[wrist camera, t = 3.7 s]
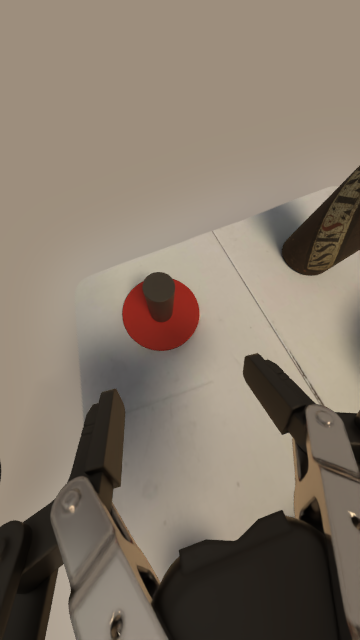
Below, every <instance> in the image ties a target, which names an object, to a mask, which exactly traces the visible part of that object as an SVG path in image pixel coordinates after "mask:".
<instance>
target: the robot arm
mask: <svg viewBox="0 0 360 640" xmlns="http://www.w3.org/2000/svg"><path fill="white" fill-rule="evenodd" d="M243 376H244V379H245V381H246V383H247V384H248V386H249V387H250V389H251V390H252V391H253V393H254V394H255V396H256V397H257V399H258V400H259V402H260V403H261V405H262V406H263V408H264V409H265V411H266V412H267V413H268V415H269V416H270V418H271V419H272V421H273V422H274V424H275V425H276V427H277V428H278V430H279V431H280V432H281V434H282V435H283V434H286V433H290V434H291V436H292V437H293V439H292V444H293V457H294V469H295V491H294V513H295V518H293V517H289V516H285V514H284V512H283V510H281V511H278V512H275V513H273V514H270V515H268V516H265V517H263V518H260V519H258V520H257V521H256V522H255V523H254V524H253V525H252V526H251V527H250V528H249V529H248V530H247V531H246V532H245V533H244V534H243V535H242V536H241V537H240V538H239V539H238V540H236V541H223V540H204V541H201V542H198V543H196V544H193V545H191V546H188V547H186V548H183V549H180V550H179V555H180V556H179V557H178V558H177V559H176V560H175V561H174V562H173V564H172V565H171V566H170V567H169V569H168V571H167V572H166V574H165V575H164V577H163V579H162V581H161V582H160V581H159V579H158V577H157V575H156V574H155V572H154V570H153V569H152V567H151V565H150V563H149V562H148V560H147V558H146V557H145V555H144V554H143V552H142V551H141V549H140V548H139V547H138V545H137V544H136V542H135V541H134V539H133V537H132V536H131V534H130V532H129V530H128V529H127V527H126V525H125V523H124V522H123V520H122V518H121V516H120V515H119V513H118V511H117V509H116V508H115V506H114V504H113V502H112V496H113V489H114V488H117V487H120V486H121V473H122V457H123V442H124V426H125V407H124V403H123V401H122V399H121V397H120V395H119V393H118V391H117V389H112V390H108V391H104V392H102V393H101V395H100V399H99V403H97V404H93V405H92V407H91V408H90V410H89V412H88V413H87V415H86V419H85V422H84V428H83V430H82V434H81V438H80V442H79V445H78V449H77V453H76V456H75V460H74V464H73V468H72V471H71V475H70V478H69V480H68V482H67V484H66V485H65V486H64V487H63V488H62V489H61V491H60V492H59V494H58V495H57V497H56V498H55V499H54V500H53V501H52V502H51V503H50V504H48V505H47V506H46V507H44V508H43V509H41V510H40V511H38V512H37V513H36V514H34V515H33V516H31V517H30V518H28V519H27V520H26V521H24V522H23V523H22V522H20V521H10V522H8V523H6V524H4V525H3V526H1V527H0V640H45V636H46V630H47V625H48V620H49V615H50V610H51V605H52V599H53V594H54V589H55V584H56V578H57V574H58V568H59V567H60V566H62V565H63V564H64V566H65V569H66V572H67V576H68V579H69V582H70V587H71V594H70V597H69V603H68V604H69V614H70V619H71V623H72V626H73V630H74V633H75V637H76V640H360V411H359V412H358V413H357V414H356V413H339V412H334V411H332V410H331V409H329V408H327V407H325V406H322V405H318V404H316V403H315V402H313V401H312V400H311V399H310V398H309V397H308V396H307V395H306V394H305V393H304V392H303V391H302V389H301V388H300V387H299V386H298V385H297V384H296V383H295V382H294V381H293V380H292V379H290V378H289V376H288V375H287V374H286V373H284V371H283V370H282V369H281V368H280V367H279V366H278V365H277V364H275V363H273V362H272V361H270V360H264V359H263V358H262V357H261V355H259V354H258V353H256V354H252V355H248V356H245V359H244V368H243ZM118 632H119V633H120V636H119V634H118Z"/></svg>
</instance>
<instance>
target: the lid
mask: <svg viewBox="0 0 360 640" xmlns="http://www.w3.org/2000/svg"><path fill="white" fill-rule="evenodd" d="M122 316H123V322H124V326H125V328H126V330H127V332H128V334H129V335H130V336H131V338H132V339H133V340H134V341H136V342H137V343H138V344H140V345H141V346H143V347H145V348H148V349H151V350H157V351H165V350H171V349H174V348H176V347H179V346H180V345H182V344H184V343H185V342H186V341H187V340H188V339H189V338H190V337H191V336H192V334H193V333H194V331H195V329H196V327H197V325H198V321H199V306H198V303H197V300H196V298H195V296H194V294H193V293H192V292H191V290H190V289H189V288H188V287H187V286H185V285H184V284H182V283H181V282H179V281H177V280H174V279H172V278H171V277H170V276H169V275H167V274H165V273H162V272H156V273H152V274H150V275H149V276H147V277H146V279H145V280H144V281H143V282H141V283H140V284H138V285H137V286H136V287H134V288H133V289H132V290H131V292H130V293H129V294H128V296H127V298H126V300H125V302H124V305H123V313H122Z"/></svg>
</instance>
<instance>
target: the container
mask: <svg viewBox="0 0 360 640" xmlns="http://www.w3.org/2000/svg"><path fill="white" fill-rule="evenodd" d="M358 250H360V166H359V167H358V168H357V169H356V170H355V171H354V172H353V173H352V174H351V175H350V176H349V177H348V178H347V179H346V180H345V181H344V182H343V183H342V184H341V185H340V186H339V187H338V188H337V189H336V190H335V191H334V192H333V194H332V195H331V196H330V197H329V198H328V199H327V200H326V201H325V202H324V203H323V204H322V205H321V206H320V207H319V208H318V209H317V210H316V211H315V212H314V213H313V214H312V215H311V216H310V217H309V218H308V219H307V220H306V221H305V222H304V223H303V224H302V225H301V226H300V227H299V228H298V229H297V230H296V231H295V232H294V233H293V234H292V235H291V236H290V237H289V238H288V239H287V240H286V242H285V243H284V245H283V248H282V255H283V257H284V259H285V261H286V262H287V264H288V265H289V266H290V267H291V268H292V269H294V270H296V271H297V272H299V273H302V274H305V275H318V274H321V273H323V272H324V271H326V270H328V269H330V268H331V267H333V266H334V265H336V264H337V263H339V262H341V261H342V260H344V259H345V258H347V257H349V256H350V255H352V254H354V253H355V252H357V251H358Z"/></svg>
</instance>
